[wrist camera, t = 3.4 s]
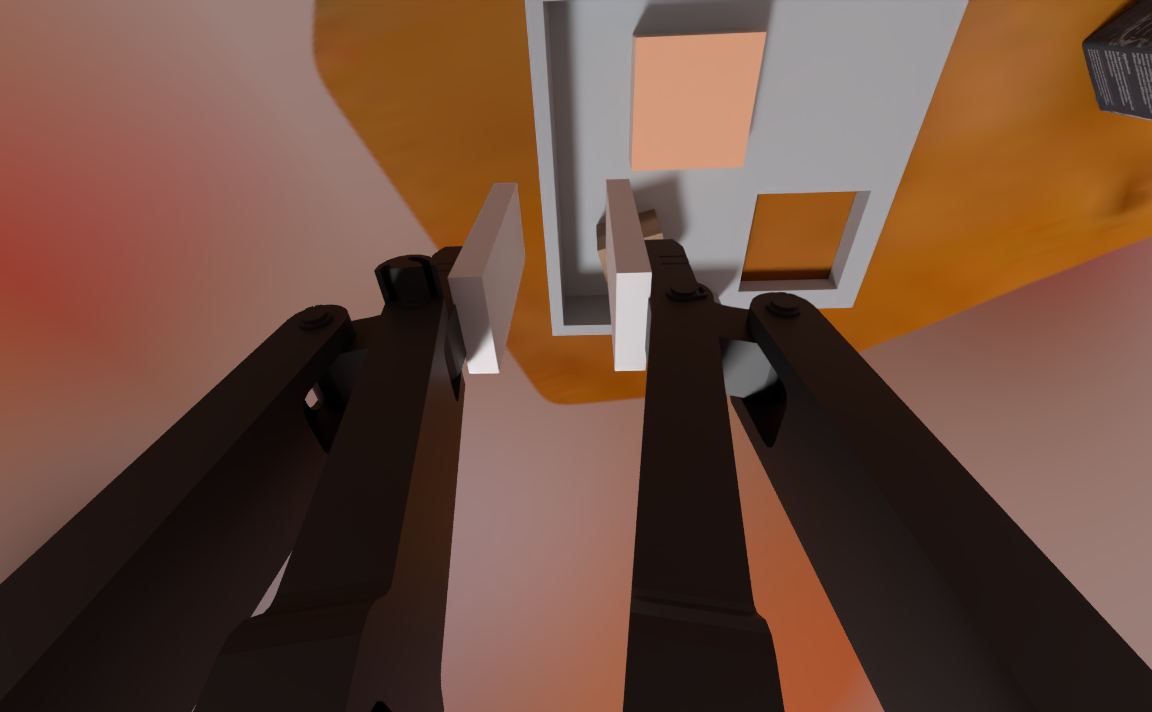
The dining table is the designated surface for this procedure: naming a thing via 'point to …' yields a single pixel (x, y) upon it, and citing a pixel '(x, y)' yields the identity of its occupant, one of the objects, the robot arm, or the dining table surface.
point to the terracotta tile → (692, 98)
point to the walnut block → (649, 232)
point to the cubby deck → (775, 143)
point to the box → (1123, 63)
